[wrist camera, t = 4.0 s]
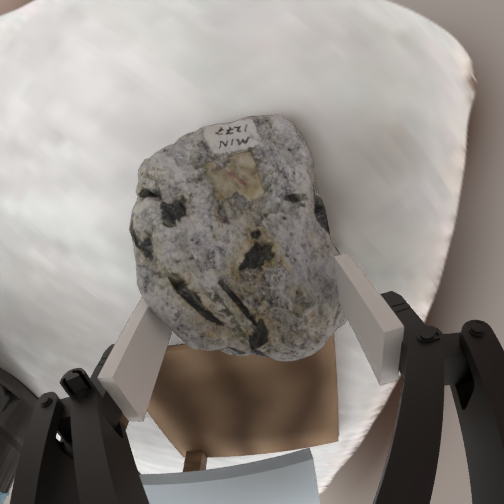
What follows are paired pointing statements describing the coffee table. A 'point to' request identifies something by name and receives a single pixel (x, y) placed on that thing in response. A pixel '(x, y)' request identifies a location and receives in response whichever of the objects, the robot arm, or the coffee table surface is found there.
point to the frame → (243, 403)
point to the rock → (237, 241)
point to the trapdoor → (240, 483)
